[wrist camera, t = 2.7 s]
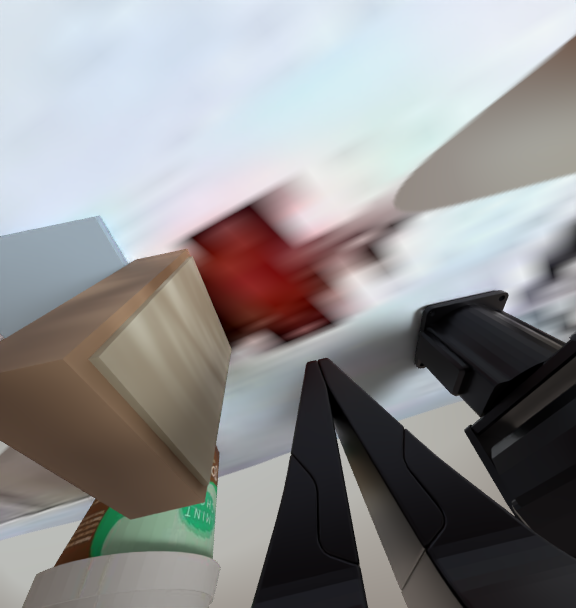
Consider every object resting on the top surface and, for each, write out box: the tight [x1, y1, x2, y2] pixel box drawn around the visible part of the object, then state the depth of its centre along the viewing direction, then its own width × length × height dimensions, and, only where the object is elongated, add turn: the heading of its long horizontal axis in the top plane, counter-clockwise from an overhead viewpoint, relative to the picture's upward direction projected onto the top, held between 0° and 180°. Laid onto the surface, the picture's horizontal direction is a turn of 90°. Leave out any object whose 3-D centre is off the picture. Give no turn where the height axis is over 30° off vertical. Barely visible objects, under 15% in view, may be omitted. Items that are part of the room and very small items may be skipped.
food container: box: [22, 446, 220, 608], centre depth 17 cm, size 12×6×10 cm, turn 37°
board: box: [0, 216, 128, 338], centre depth 14 cm, size 9×13×1 cm
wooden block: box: [0, 249, 231, 520], centre depth 10 cm, size 3×8×9 cm, turn 10°
